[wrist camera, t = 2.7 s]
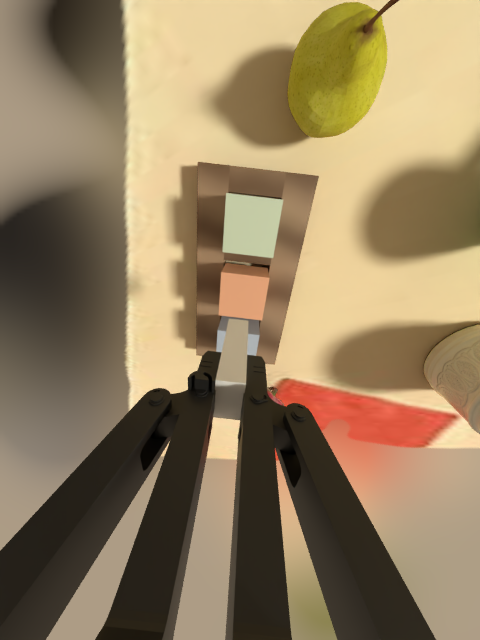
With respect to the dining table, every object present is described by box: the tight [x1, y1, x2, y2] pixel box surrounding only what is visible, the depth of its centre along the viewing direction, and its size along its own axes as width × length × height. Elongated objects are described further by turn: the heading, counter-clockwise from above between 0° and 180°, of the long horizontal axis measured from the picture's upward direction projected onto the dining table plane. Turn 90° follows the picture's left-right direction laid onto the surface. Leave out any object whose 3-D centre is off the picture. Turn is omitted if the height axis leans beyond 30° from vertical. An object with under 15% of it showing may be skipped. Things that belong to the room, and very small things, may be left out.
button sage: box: [223, 193, 283, 258], centre depth 21 cm, size 5×5×4 cm
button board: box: [196, 162, 319, 365], centre depth 27 cm, size 24×12×2 cm, turn 174°
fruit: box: [287, 0, 399, 138], centre depth 14 cm, size 7×7×12 cm
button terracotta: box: [219, 263, 270, 320], centre depth 25 cm, size 5×5×4 cm
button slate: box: [216, 316, 260, 356], centre depth 28 cm, size 5×5×4 cm
